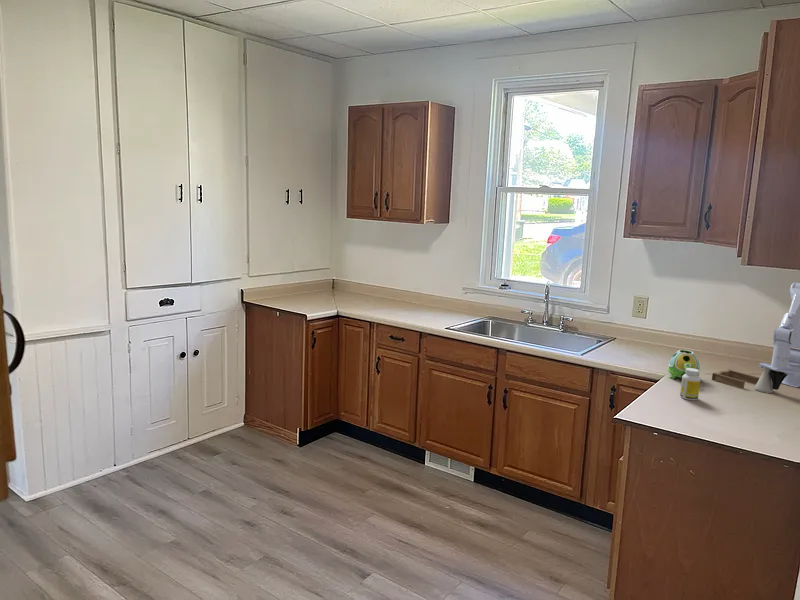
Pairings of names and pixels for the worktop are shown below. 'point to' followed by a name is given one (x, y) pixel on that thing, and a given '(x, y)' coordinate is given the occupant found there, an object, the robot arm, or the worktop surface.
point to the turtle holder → (682, 363)
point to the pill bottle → (690, 384)
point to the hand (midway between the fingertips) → (775, 389)
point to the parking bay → (734, 378)
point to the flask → (764, 382)
